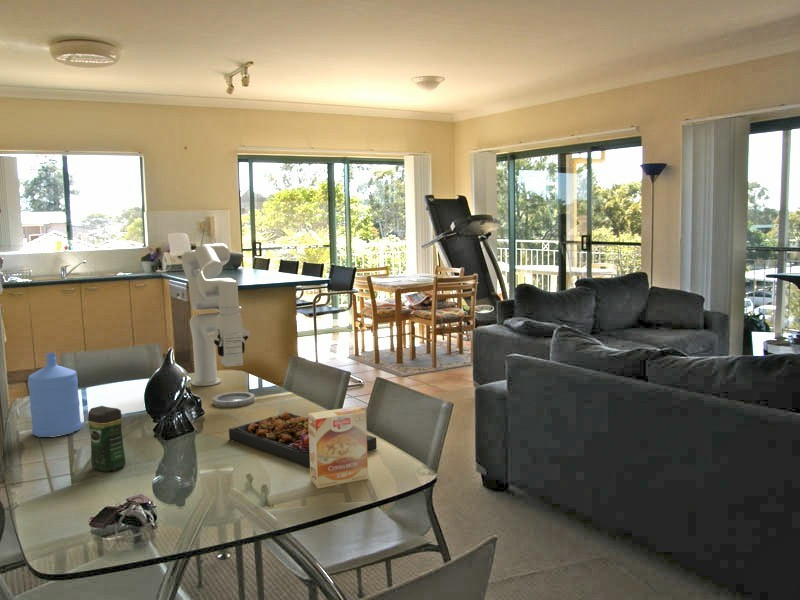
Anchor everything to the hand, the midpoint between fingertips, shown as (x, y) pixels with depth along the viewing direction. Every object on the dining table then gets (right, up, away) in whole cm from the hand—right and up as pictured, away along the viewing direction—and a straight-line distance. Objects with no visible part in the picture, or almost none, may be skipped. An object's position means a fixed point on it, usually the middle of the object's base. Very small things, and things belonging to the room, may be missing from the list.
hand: (231, 354), depth 282 cm
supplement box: (0, -4, +1) cm, 4 cm away
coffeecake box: (+50, -29, -85) cm, 103 cm away
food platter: (+35, -26, -53) cm, 69 cm away
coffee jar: (-20, -29, -70) cm, 78 cm away
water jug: (-54, -25, -32) cm, 68 cm away
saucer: (+1, -19, +2) cm, 20 cm away
